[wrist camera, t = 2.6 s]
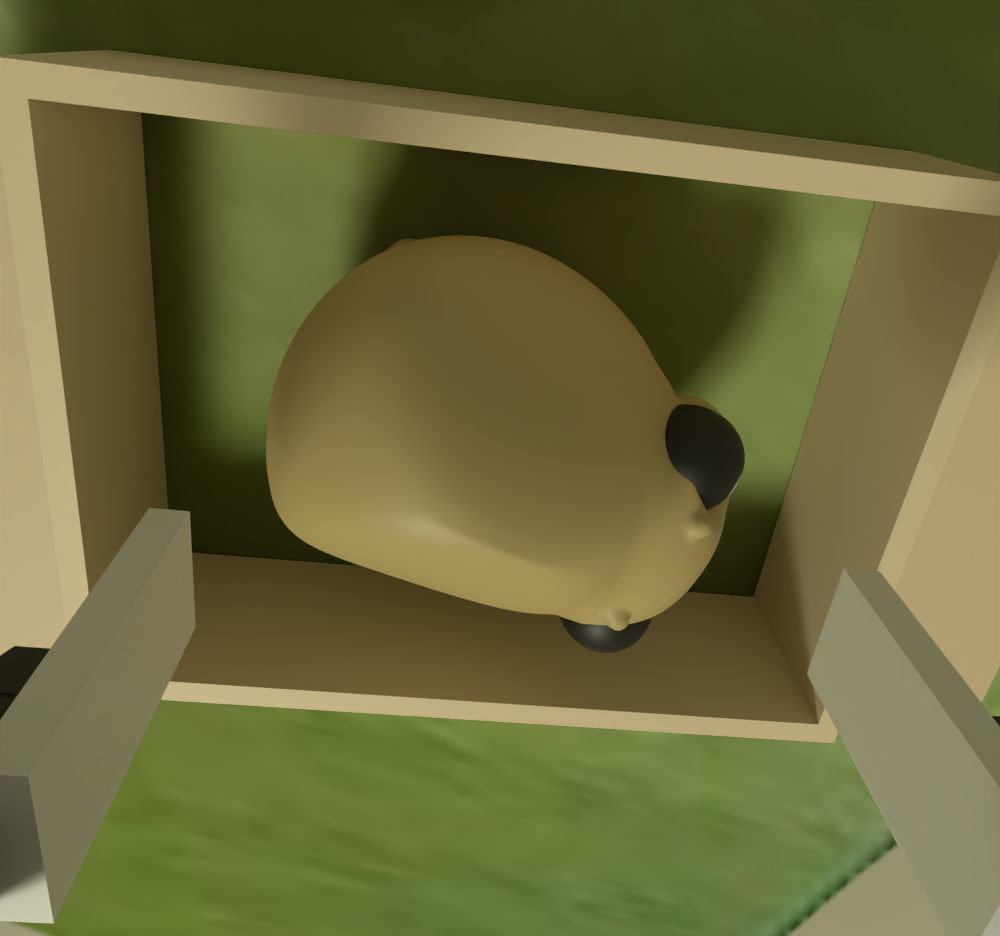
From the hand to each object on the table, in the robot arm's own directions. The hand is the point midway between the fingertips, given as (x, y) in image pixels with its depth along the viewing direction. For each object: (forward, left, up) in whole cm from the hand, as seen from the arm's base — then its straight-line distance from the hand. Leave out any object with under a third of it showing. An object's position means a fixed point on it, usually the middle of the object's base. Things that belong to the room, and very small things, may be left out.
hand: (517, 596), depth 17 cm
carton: (0, 0, -11) cm, 11 cm away
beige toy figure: (0, 0, -12) cm, 12 cm away
